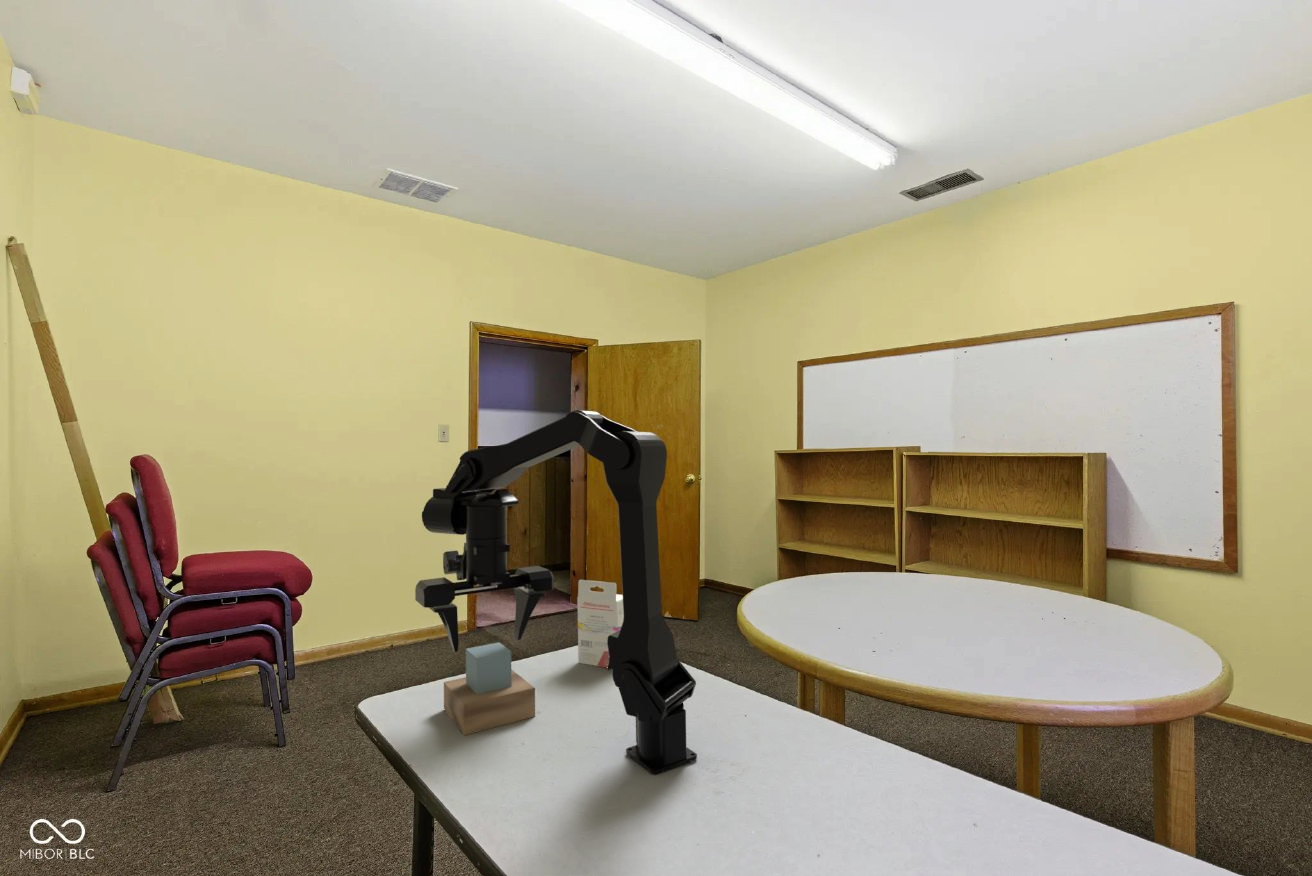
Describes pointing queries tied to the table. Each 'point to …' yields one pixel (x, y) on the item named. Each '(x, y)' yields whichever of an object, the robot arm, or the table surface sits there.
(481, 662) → the slate block
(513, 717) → the walnut block
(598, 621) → the ink cartridge box
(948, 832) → the table surface
